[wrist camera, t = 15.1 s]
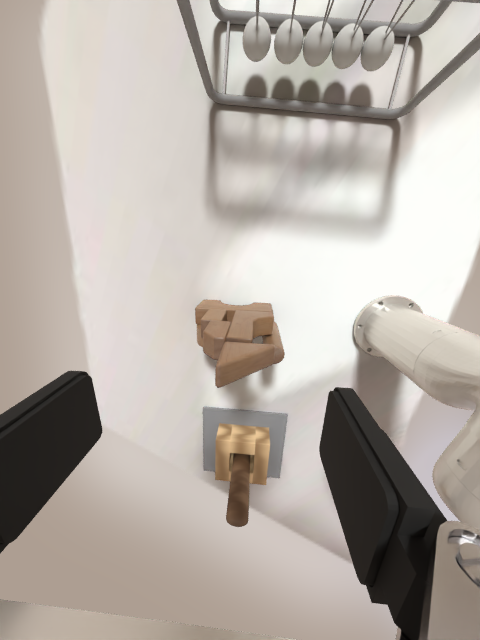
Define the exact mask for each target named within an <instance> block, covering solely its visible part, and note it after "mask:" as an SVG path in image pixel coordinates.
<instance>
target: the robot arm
mask: <svg viewBox="0 0 480 640" xmlns="http://www.w3.org/2000/svg"><path fill="white" fill-rule="evenodd" d="M358 325H359V326H358ZM354 337H355V340H356V342H357V344H358V345H359V346H360V347H361V348H362V349H363V350H364V351H365V352H366V353H368V354H370V355H372V356H376V357H384V358H385V359H387V360H388V361H389V362H390V363H391V364H393V365H394V366H395V367H396V368H397V369H398V370H400V371H401V372H402V373H403V374H404V375H405V376H407V377H408V378H409V379H410V380H411V381H413V382H414V383H415V384H416V385H417V386H418V387H420V388H421V389H422V390H423V391H424V392H426V393H427V394H428V395H429V396H431V397H432V398H434V399H435V400H437V401H439V402H441V403H443V404H446V405H449V406H452V407H455V408H461V409H466V410H474V413H473V414H472V415H471V417H470V418H469V420H468V421H467V423H466V425H465V426H464V427H463V428H462V430H461V431H460V432H459V433H458V435H457V436H456V437H455V438H454V439H453V441H452V442H451V443H450V444H449V446H448V447H447V448H446V449H445V451H444V452H443V453H442V455H441V456H440V457H439V459H438V460H437V462H436V463H435V466H434V469H433V474H432V477H433V483H434V485H435V488H436V490H437V492H438V494H439V496H440V497H441V499H442V500H443V502H444V503H445V504H446V506H447V507H448V508H449V509H450V511H451V512H452V513H453V514H454V515H455V516H456V517H457V518H458V519H459V520H460V522H459V521H447V520H446V518H445V517H444V515H443V514H442V513H441V511H440V510H439V508H438V507H437V505H436V504H435V503H434V501H433V500H432V498H431V497H430V495H429V494H428V493H427V491H426V490H425V488H424V487H423V485H422V484H421V483H420V481H419V480H418V479H417V477H416V475H415V474H414V473H413V471H412V470H411V468H410V467H409V465H408V464H407V463H406V461H405V460H404V458H403V457H402V456H401V454H400V453H399V451H398V450H397V448H396V447H395V446H394V444H393V443H392V441H391V440H390V438H389V437H388V436H387V434H386V433H385V432H384V431H383V430H382V429H380V427H379V426H378V424H377V423H376V422H375V420H374V419H373V417H372V416H371V414H370V413H369V411H368V410H367V409H366V407H365V406H364V404H363V403H362V401H361V400H360V398H359V397H358V395H357V394H356V393H355V391H354V390H353V389H352V388H339V387H336V388H335V389H334V391H330V392H329V395H328V401H327V407H326V413H325V418H324V424H323V430H322V435H321V441H320V457H321V460H322V464H323V467H324V470H325V473H326V477H327V480H328V483H329V486H330V490H331V493H332V496H333V499H334V503H335V506H336V509H337V513H338V516H339V519H340V522H341V526H342V529H343V532H344V535H345V539H346V542H347V545H348V548H349V552H350V555H351V558H352V561H353V565H354V568H355V571H356V574H357V577H358V579H359V581H360V583H361V584H363V585H366V586H367V589H368V592H369V595H370V599H371V602H372V603H379V604H387V605H388V607H389V610H390V612H391V615H392V618H393V621H394V623H395V624H396V625H397V626H398V629H397V635H396V640H480V336H479V335H477V334H474V333H471V332H469V331H466V330H464V329H461V328H459V327H456V326H453V325H451V324H448V323H446V322H443V321H441V320H438V319H435V318H433V317H430V316H428V315H425V314H423V312H422V310H421V308H420V307H419V306H418V305H417V304H416V303H415V302H414V301H412V300H411V299H408V298H405V297H402V296H395V295H390V296H384V297H381V298H378V299H376V300H374V301H372V302H370V303H369V304H367V305H366V306H365V307H364V308H363V309H362V310H361V312H360V313H359V314H358V316H357V318H356V320H355V324H354ZM101 434H102V426H101V421H100V416H99V411H98V406H97V402H96V397H95V392H94V387H93V382H92V378H91V377H90V376H89V375H88V373H87V372H82V371H68V372H66V373H64V374H63V375H61V376H60V377H58V378H57V379H56V380H54V381H52V382H51V383H49V384H47V385H46V386H44V387H43V388H41V389H40V390H38V391H37V392H35V393H33V394H32V395H30V396H29V397H27V398H26V399H24V400H23V401H21V402H20V403H18V404H17V405H15V406H13V407H12V408H10V409H9V410H7V411H6V412H4V413H3V414H1V415H0V553H1V552H2V551H3V550H4V548H5V547H6V546H7V545H8V544H9V543H11V542H12V541H14V540H15V539H16V538H17V537H18V536H19V535H20V534H21V533H22V531H23V530H24V529H25V528H26V526H27V525H28V524H29V523H30V522H31V521H32V519H33V518H34V517H35V515H37V513H38V512H39V511H40V510H41V509H42V507H43V506H44V505H45V504H46V503H47V501H48V500H49V499H50V498H51V497H52V495H53V494H54V493H55V492H56V490H57V489H58V488H59V487H60V486H61V484H62V483H63V482H64V481H65V479H66V478H67V477H68V476H69V475H70V474H71V472H72V471H73V470H74V469H75V468H76V466H77V465H78V464H79V463H80V462H81V460H82V459H83V458H84V457H85V456H86V454H87V453H88V452H89V451H90V450H91V448H92V447H93V446H94V445H95V443H96V442H97V441H98V440H99V438H100V437H101ZM0 640H295V639H290V638H283V637H276V636H269V635H261V634H254V633H247V632H240V631H232V630H225V629H218V628H211V627H204V626H196V625H189V624H182V623H174V622H167V621H160V620H153V619H145V618H138V617H130V616H122V615H115V614H107V613H100V612H92V611H85V610H76V609H69V608H61V607H54V606H46V605H39V604H31V603H23V602H15V601H8V600H0Z"/></svg>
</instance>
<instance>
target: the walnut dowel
mask: <svg viewBox="0 0 480 640" xmlns="http://www.w3.org/2000/svg"><path fill="white" fill-rule="evenodd" d="M249 481H250V455H249V454H238V453H234V454H233V463H232V472H231V480H230V489H229V498H228V506H227V515H226V520H227V522H228V523H229V524H230V525H232V526H236V527H242V526H244V525H246V524H247V523H248V510H249Z"/></svg>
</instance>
